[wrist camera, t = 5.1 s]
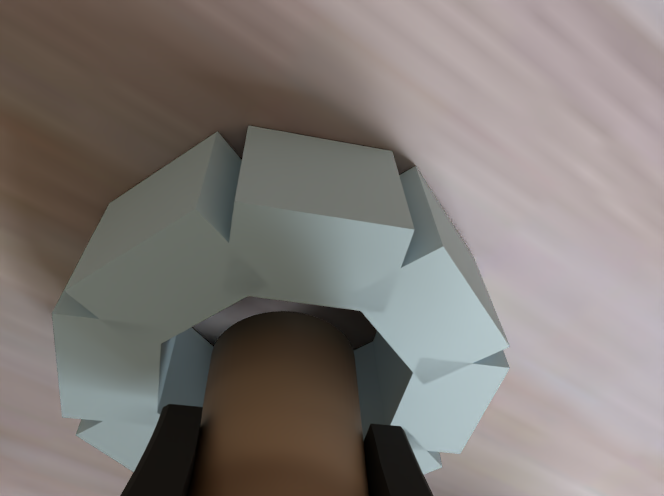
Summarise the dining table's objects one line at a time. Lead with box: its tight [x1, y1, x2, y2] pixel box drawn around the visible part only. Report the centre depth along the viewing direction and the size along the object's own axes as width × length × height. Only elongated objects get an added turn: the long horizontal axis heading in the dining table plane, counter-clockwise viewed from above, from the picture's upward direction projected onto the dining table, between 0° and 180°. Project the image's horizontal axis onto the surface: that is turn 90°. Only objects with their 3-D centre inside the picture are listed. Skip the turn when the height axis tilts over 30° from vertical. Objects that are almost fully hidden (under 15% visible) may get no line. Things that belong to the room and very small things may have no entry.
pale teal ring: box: [52, 125, 510, 475], centre depth 13 cm, size 9×9×3 cm
